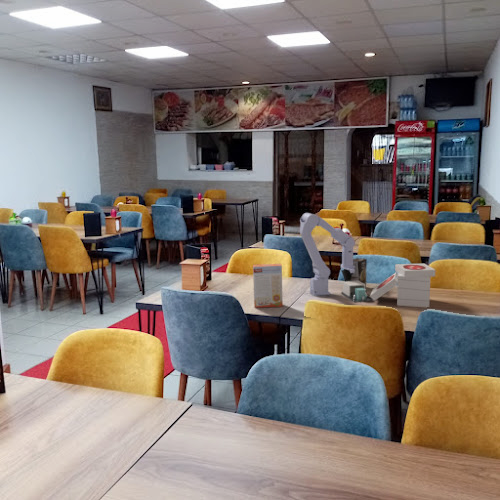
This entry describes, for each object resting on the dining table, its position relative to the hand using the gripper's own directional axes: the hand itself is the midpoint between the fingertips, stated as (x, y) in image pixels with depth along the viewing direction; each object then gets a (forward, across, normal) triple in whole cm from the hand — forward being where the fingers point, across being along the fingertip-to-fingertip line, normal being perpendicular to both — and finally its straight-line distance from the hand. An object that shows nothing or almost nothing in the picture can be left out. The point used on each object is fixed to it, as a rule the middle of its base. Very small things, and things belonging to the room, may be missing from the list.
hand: (347, 283), depth 281 cm
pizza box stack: (+5, -27, -18) cm, 33 cm away
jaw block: (+4, -17, 0) cm, 18 cm away
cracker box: (+4, -15, +48) cm, 51 cm away
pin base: (+4, -13, 0) cm, 14 cm away
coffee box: (+5, +4, -8) cm, 10 cm away
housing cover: (+4, -9, 0) cm, 10 cm away
